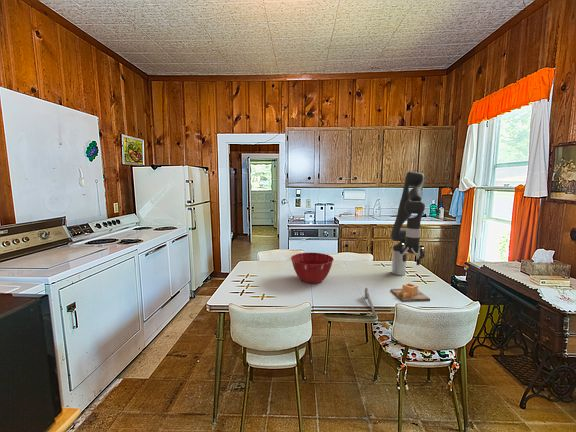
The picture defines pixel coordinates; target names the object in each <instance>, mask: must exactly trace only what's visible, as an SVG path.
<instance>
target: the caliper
mask: <svg viewBox="0 0 576 432" xmlns="http://www.w3.org/2000/svg"><path fill="white" fill-rule="evenodd" d="M364 289H365V290H364V298H365V299H366V300H367V301H368V304H369V306H370V309H371V311H372V313H376V312H375V307H374V305H373V302H372V299H371V297H370V294H369V291H368V290H369V288H368V287H365V288H364Z"/></svg>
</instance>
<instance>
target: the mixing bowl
mask: <svg viewBox="0 0 576 432" xmlns="http://www.w3.org/2000/svg"><path fill="white" fill-rule="evenodd" d="M290 260H291V264H292V267H293V269H294V271H295V273H296V275H297V277H298V278H299V280H301V281H302V282H304V283H307V284H319V283H321V282H323V281H324V280H325V279H327V277H328V274H329V272H330V270H331V268H332V266H333V262H334V260H335V259H334V257H333V256H331V255H329V254H325V253H320V252H300V253H297V254H293V255H292V256H290Z"/></svg>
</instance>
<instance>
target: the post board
mask: <svg viewBox="0 0 576 432" xmlns="http://www.w3.org/2000/svg"><path fill="white" fill-rule="evenodd" d="M410 287H412V286H410ZM401 290H402V288H390V292H391V293H392V294H393V295H395V296H396V297H397V298H398V299H399V300H400V301H401V302H430V301H431V298H430V297H429V296H427V295H426V294H424V293H423V292H422V291H420V290H419V289H418V292H417V294H416V295H414V296H409V297H406V298H403V293H401V295H400V296H397V292H399V291H401Z"/></svg>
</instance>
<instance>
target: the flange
mask: <svg viewBox="0 0 576 432" xmlns="http://www.w3.org/2000/svg"><path fill="white" fill-rule="evenodd" d="M410 286H412V287H410ZM418 288H419V286H418V285H416V284H413V283H410V282H407V283H403V284H402V287H401V289H402V290H401V291H399V292H397V296H400V295H401V293H403V298H406V297H409V296H414V295H416V294H417V292H418V290H419V289H418ZM397 296H396V297H397Z"/></svg>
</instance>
